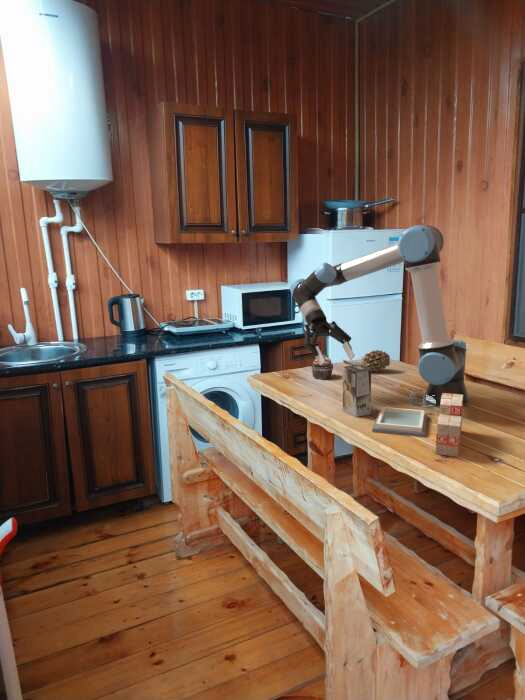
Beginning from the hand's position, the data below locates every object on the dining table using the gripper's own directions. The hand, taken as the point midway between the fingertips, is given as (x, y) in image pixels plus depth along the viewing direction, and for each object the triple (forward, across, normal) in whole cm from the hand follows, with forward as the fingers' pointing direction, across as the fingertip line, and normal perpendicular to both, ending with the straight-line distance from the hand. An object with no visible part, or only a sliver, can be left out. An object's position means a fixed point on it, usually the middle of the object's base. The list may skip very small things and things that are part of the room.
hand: (337, 360), depth 191 cm
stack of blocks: (+45, -5, +21) cm, 50 cm away
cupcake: (-12, -18, -36) cm, 42 cm away
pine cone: (-8, -40, -33) cm, 52 cm away
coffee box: (+19, 0, -5) cm, 20 cm away
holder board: (+31, -4, +8) cm, 33 cm away
